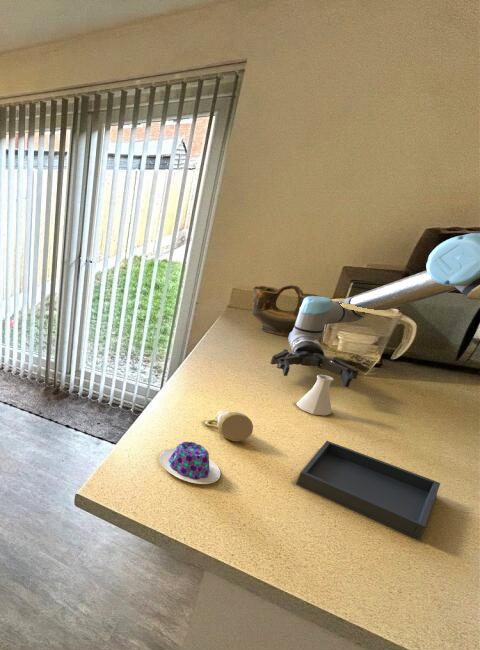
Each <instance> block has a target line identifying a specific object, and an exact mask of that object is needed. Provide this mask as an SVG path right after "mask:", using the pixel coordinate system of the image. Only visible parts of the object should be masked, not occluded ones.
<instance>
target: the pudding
mask: <svg viewBox="0 0 480 650" xmlns="http://www.w3.org/2000/svg"><path fill="white" fill-rule="evenodd" d="M209 455H210V454H209V451H208V450H207V449H206V448H205V447H204V446H203V445H202V444H198V443H196V442H194V441H182V442H181V443H179V444H178V445H176V447H174V448H173V447H172V448H168V449H166V450H164V451H162V452H161V453H160V455H159V463H160V464H161V466H162V467H163V468H164V469H165V471H167V472H168V473H169V474H171V476H174V477H176V478H177V479H180V480H182V481H185V482H188V483H191V484H197V485H209V484H213V483H215V482H217V481H218V480H219V479H220V478H221V470H220V468H219V466H218V465H217V464H216V463H215V462H214V461H213V460H212V459H211V458H210V456H209Z"/></svg>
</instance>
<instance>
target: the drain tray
mask: <svg viewBox="0 0 480 650" xmlns="http://www.w3.org/2000/svg"><path fill="white" fill-rule="evenodd" d="M295 485H296V486H299V487H300V488H303V489H305V490H307V491H309V492H312V493H314V494H316V495H318V496H320V497H321V498H324V499H326V500H329V501H331V502H333V503H334V504H338V505H339V506H342V507H344V508H346V509H349V510H350V511H352V512H355V513H357V514H359V515H361V516H364V517H366V518H368V519H369V520H372V521H374V522H376V523H379V524H381V525H383V526H385V527H387V528H389V529H392V530H394V531H396V532H398V533H401V534H403V535H405V536H407V537H409V538H411V539H414V540H416V541H418V540H419V538H420V536H421V535H422V533H423V532H424V530H425V529H426V525H427V523H428V520H429V517H430V515H431V512H432V509H433V506H434V503H435V500H436V498H437V494H438V491H439V488H440V486H441V482H439V481H437V480H434V479H432V478H429V477H426V476H423V475H420V474H417V473H415V472H413V471H410V470H408V469H404V468H402V467H399V466H397V465H393V464H392V463H389V462H386V461H383V460H380V459H378V458H375V457H372V456H370V455H367V454H364V453H361V452H359V451H356V450H354V449H351V448H348V447H346V446H343V445H341V444H337V443H334V442H333V441H332V442H331V441H329V440H326V441H325V442H324V443H323V444H322V446H321V447H320V448H319V449H318V451H316V453H315V454H314V455H313V457H312V458H311V459H310V460H309V461H308V462H307V464H306V465H305V466H304V467H303V469H302V470H301V471H300V473H299V475H298V478H297V480H296V483H295Z"/></svg>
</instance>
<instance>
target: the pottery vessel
mask: <svg viewBox="0 0 480 650" xmlns="http://www.w3.org/2000/svg"><path fill="white" fill-rule="evenodd" d="M287 290H294V291H295V293H296V295H297V304H296V308H295V309H293V310H284V309H281V308H279V307H278V306H277V301H278V298H279V297H280V295H281V294H282V293H283V292H284V291H287ZM252 291H253V293H254V298H253V307H252V312H251V314H252V316H253V318H254V319H255V320H256V321H258V322H259V323H260V324H261V325H262V327H261V330H262V331H264V332H265V333H267V334H270V335H275V336H281V337H289V334H290V333H291V332H292V331H293V328H294V326H295V323H296V320H297V317H298V314H299V310H300V307H301V305H302V303H303V300H304V299H305V298H306V297H308V296H321V297H324V296H322V295H318V294H315V293H313V294H312V293H304V292H303V290H302V289H301V288H300V286H298V285H294V284H290V285H285V286H282V287H280V288H276V287H273V286H272V287H271V286H265V285H259V286H254V287H253V288H252Z"/></svg>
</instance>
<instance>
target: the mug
mask: <svg viewBox="0 0 480 650" xmlns="http://www.w3.org/2000/svg"><path fill="white" fill-rule="evenodd" d="M214 418H215V419H208V420H206V421H205V422H204V425H205V426H207V428H213V429H214V430H215V429H216V430H217V431H219V434H220V435H222V436H223V437H224V438H225V439H227V440H229V441H232V442H242V441H244V440H246V439H248V438H249V437H250V436H251V435H252V434H253V431H254V424H253V422H252V420H251V419H250V417H249V416H248V415H246V414H244V413H242V412H239V411H228V410H219V411H218V412H217V413H216V414H215V417H214ZM211 423H215V424H211Z"/></svg>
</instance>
